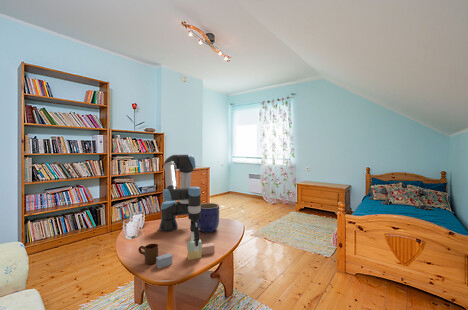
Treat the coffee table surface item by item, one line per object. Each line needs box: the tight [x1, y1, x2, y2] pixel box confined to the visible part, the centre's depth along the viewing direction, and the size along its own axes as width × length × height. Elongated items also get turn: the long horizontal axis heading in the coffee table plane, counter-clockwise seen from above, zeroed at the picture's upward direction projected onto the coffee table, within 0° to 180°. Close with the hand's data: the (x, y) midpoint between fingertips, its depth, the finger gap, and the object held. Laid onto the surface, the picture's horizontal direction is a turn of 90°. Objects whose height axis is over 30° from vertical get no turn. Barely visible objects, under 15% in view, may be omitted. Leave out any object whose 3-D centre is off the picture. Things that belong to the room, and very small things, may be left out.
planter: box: [197, 202, 220, 234], centre depth 175 cm, size 18×18×21 cm
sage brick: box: [186, 239, 203, 253], centre depth 130 cm, size 8×4×5 cm, turn 114°
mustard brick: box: [187, 250, 202, 261], centre depth 131 cm, size 8×4×5 cm, turn 108°
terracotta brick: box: [201, 242, 215, 256], centre depth 137 cm, size 8×4×5 cm, turn 110°
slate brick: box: [155, 252, 173, 269], centre depth 122 cm, size 8×4×5 cm, turn 125°
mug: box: [138, 243, 159, 266], centre depth 125 cm, size 12×8×9 cm, turn 83°
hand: (194, 246), depth 131 cm, fingers open, 13 cm apart
